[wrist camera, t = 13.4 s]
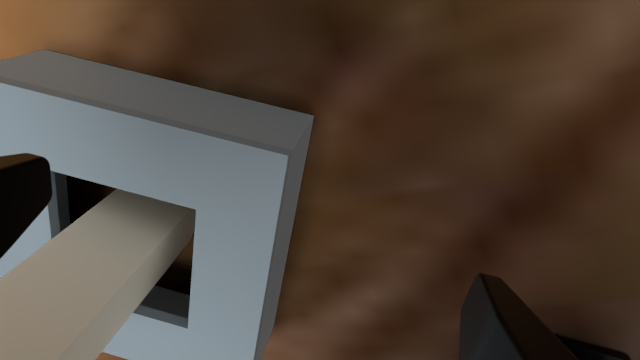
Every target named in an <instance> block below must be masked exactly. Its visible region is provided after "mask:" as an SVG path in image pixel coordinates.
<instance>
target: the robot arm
mask: <svg viewBox="0 0 640 360" xmlns="http://www.w3.org/2000/svg"><path fill="white" fill-rule="evenodd" d="M52 194H53V189H52V179H51V170H50V163H49V161H48V160H47V159H46V158H45V157H42V156H38V155H34V154H30V153H21V154H14V155H6V156H0V259H1V258H2V257H3V256H4V255H5V253H6V252H7V251H8V250H9V249H10V248H11V247H12V246H13V244H14V243H15V242H16V241H17V240H18V239H19V238H20V236H21V235H22V234H23V233H24V232H25V231H26V229H27V228H28V227H29V226H30V225H31V224H32V222H33V221H34V220H35V219H36V218H37V217H38V216H39V214H40V213H41V212H42V211H43V210H44V209H45V207H46V206H47V205H48V204H49V202H50V201H51V198H52ZM460 360H631V359H630V357H629V356H626V355H624V354H620V353H616V352H613V351H609V350H605V349H602V348H598V347H594V346H591V345H587V344H583V343H580V342H576V341H572V340H569V339H565V338H561V337H558V336H555V335H554V334H553V332H552V331H551V330H550V329H549V328H548V327H547V326H546V325H545V324H544V323H543V322H542V321H541V320H540V319H539V318H538V317H537V316H536V315H535V314H534V313H533V312H532V311H531V309H530V308H529V307H528V306H527V305H526V304H525V303H524V302H523V301H522V300H521V299H520V298H519V297H518V296H517V295H516V294H515V293H514V292H513V291H512V290H511V289H510V287H509V286H508V285H507V284H506V283H505V282H504V281H503V280H502V279H501V278H499V277H496V276H492V275H488V274H484V273H479V274H477V275H476V277H475V278H474V281H473V283H472V285H471V287H470V290H469V292H468V294H467V296H466V299H465V301H464V303H463V306H462V310H461V322H460Z"/></svg>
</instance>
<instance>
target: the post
mask: <svg viewBox="0 0 640 360" xmlns="http://www.w3.org/2000/svg"><path fill="white" fill-rule="evenodd" d="M195 219H196V210H195V209H192V208H188V207H184V206H180V205H177V204H173V203H169V202H165V201H162V200H158V199H154V198H151V197H147V196H143V195H139V194H136V193H132V192H128V191H124V190H121V189H116V190H115V191H113V192H112V193H111V194H109V195H108V196H107V197H106V198H104V199H103V200H102V201H100V202H99V203H98V204H96V205H95V206H94V207H93V208H91V209H90V210H89V211H87V212H86V213H85V214H84V215H82V216H81V217H80V218H78V219H77V220H76V221H74V222H73V223H72V224H71V225H69V226H68V227H67V228H65V229H64V230H63V231H62V232H60V233H59V234H58V235H56V236H55V237H54V238H53V239H51V240H50V241H49V242H47V243H46V244H45V245H43V246H42V247H41V248H40V249H38V250H37V251H36V252H34V253H33V254H32V255H31V256H29V257H28V258H27V259H25V260H24V261H23V262H22V263H20V264H19V265H18V266H16V267H15V268H14V269H12V270H11V271H10V272H9V273H7V274H6V275H5V276H3V277H2V278H1V279H0V360H96V358H97V357H98V356H99V355H100V353H101V352H102V351H103V350H104V348H105V347H106V346H107V345H108V343H109V342H110V341H111V340H112V338H113V337H114V336H115V335H116V333H117V332H118V331H119V330H120V328H121V327H122V326H123V324H124V323H125V322H126V321H127V319H128V318H129V317H130V316H131V314H132V313H133V312H134V311H135V309H136V308H137V307H138V306H139V304H140V303H141V302H142V301H143V299H144V298H145V297H146V296H147V294H148V293H149V292H150V290H151V289H152V288H153V287H154V285H155V284H156V283H157V282H158V280H159V279H160V278H161V277H162V275H163V274H164V273H165V272H166V270H167V269H168V268H169V267H170V265H171V264H172V263H173V262H174V260H175V259H176V258H177V256H178V255H179V254H180V253H181V251H182V250H183V249H184V248H185V246H186V245H187V244H188V243H189V241H190V240H191V238H192V235H193V232H194V229H195Z"/></svg>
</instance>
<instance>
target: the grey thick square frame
mask: <svg viewBox="0 0 640 360" xmlns="http://www.w3.org/2000/svg"><path fill="white" fill-rule="evenodd" d="M313 119H314V116H313V115H309V114H305V113H301V112H297V111H293V110H289V109H285V108H281V107H277V106H272V105H268V104H264V103H260V102H256V101H252V100H248V99H244V98H240V97H236V96H232V95H228V94H224V93H220V92H216V91H211V90H207V89H203V88H199V87H195V86H191V85H187V84H183V83H179V82H175V81H171V80H167V79H163V78H159V77H154V76H150V75H146V74H142V73H138V72H134V71H130V70H126V69H122V68H118V67H114V66H110V65H106V64H102V63H97V62H93V61H89V60H85V59H81V58H77V57H73V56H69V55H65V54H61V53H57V52H53V51H49V50H41V51H37V52H33V53H29V54H25V55H21V56H17V57H13V58H9V59H5V60H1V61H0V156H6V155H14V154H21V153H30V154H34V155H38V156H42V157H45V158H46V159H47V160H48V161H49V163H50V170H51V179H52V189H53V194H52V198H51V201H50V202H49V204H48V205H47V206H46V207H45V209H44V210H43V211H42V212H41V213H40V214H39V216H38V217H37V218H36V219H35V220H34V221H33V222H32V224H31V225H30V226H29V227H28V228H27V229H26V231H25V232H24V233H23V234H22V235H21V236H20V238H19V239H18V240H17V241H16V242H15V243H14V244H13V246H12V247H11V248H10V249H9V250H8V251H7V252H6V253H5V255H4V256H3V257H2V258H1V259H0V279H1V278H2V277H3V276H5V275H6V274H7V273H9V272H10V271H11V270H12V269H14V268H15V267H16V266H18V265H19V264H20V263H22V262H23V261H24V260H25V259H27V258H28V257H29V256H31V255H32V254H33V253H34V252H36V251H37V250H38V249H40V248H41V247H42V246H43V245H45V244H46V243H47V242H49V241H50V240H51V239H53V238H54V237H55V236H56V235H58V234H59V233H60V232H62V231H63V230H64V229H65V228H67V227H68V226H69V225H70V215H69V203H68V191H67V179H66V175H69V176H72V177H76V178H80V179H83V180H87V181H91V182H95V183H98V184H102V185H106V186H110V187H113V188H117V189H121V190H124V191H128V192H132V193H136V194H139V195H143V196H147V197H151V198H154V199H158V200H162V201H165V202H169V203H173V204H177V205H180V206H184V207H188V208H192V209H195V210H196V219H195V233H194V247H193V261H192V275H191V289H190V295H187V294H183V293H180V292H176V291H173V290H169V289H166V288H162V287H159V286H155V285H154V287H153V288H152V289H151V290H150V292H149V293H148V294H147V296H146V297H145V298H144V299H143V301H142V302H141V303H140V304H139V306H138V307H137V308H136V309H135V311H134V312H133V313H132V314H131V316H130V317H129V318H128V319H127V321H126V322H125V323H124V324H123V326H122V327H121V328H120V330H119V331H118V332H117V333H116V335H115V336H114V337H113V338H112V340H111V341H110V342H109V343H108V345H107V346H106V347H105V348H104V350H103V351H102V352H105V353H108V354H112V355H115V356H118V357H122V358H125V359H129V360H261V358H262V356H263V353H264V350H265V348H266V345H267V343H268V340H269V337H270V335H271V332H272V330H273V327H274V322H275V317H276V312H277V306H278V301H279V296H280V291H281V286H282V280H283V275H284V270H285V265H286V260H287V254H288V249H289V244H290V239H291V234H292V228H293V223H294V218H295V213H296V208H297V202H298V197H299V192H300V187H301V182H302V176H303V171H304V166H305V161H306V156H307V150H308V145H309V140H310V135H311V129H312V124H313Z"/></svg>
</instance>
